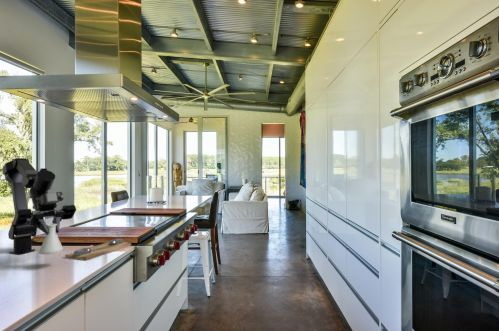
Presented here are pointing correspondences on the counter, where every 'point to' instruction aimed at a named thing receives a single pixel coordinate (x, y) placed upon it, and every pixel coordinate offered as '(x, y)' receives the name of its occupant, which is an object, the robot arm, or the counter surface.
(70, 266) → the counter surface
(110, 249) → the tan board
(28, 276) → the counter surface
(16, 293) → the counter surface
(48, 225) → the flask
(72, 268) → the counter surface
